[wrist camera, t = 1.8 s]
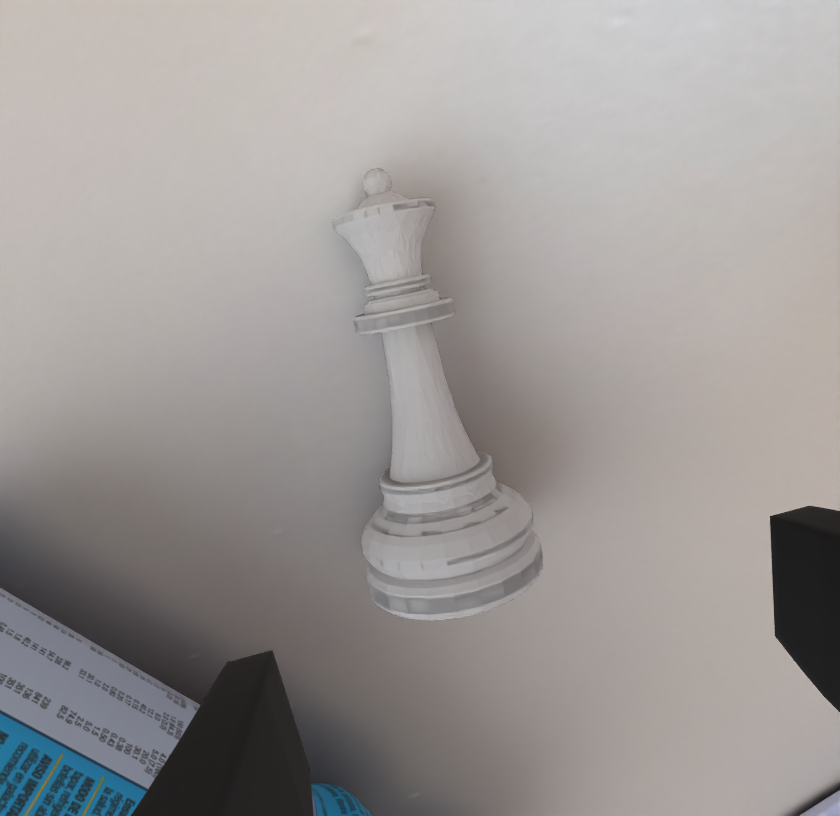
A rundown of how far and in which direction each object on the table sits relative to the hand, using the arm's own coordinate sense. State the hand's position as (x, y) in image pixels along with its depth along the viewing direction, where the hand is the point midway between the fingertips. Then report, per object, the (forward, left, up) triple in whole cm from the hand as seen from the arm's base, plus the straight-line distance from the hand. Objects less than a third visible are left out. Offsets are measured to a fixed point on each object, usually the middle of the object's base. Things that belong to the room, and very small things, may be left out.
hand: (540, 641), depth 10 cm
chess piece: (-1, -3, -7) cm, 8 cm away
